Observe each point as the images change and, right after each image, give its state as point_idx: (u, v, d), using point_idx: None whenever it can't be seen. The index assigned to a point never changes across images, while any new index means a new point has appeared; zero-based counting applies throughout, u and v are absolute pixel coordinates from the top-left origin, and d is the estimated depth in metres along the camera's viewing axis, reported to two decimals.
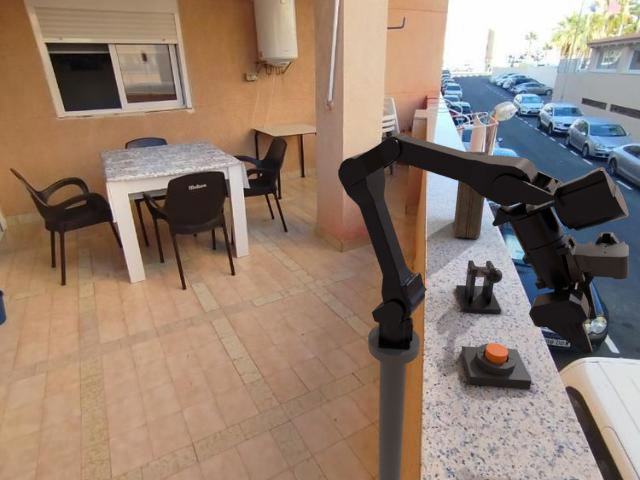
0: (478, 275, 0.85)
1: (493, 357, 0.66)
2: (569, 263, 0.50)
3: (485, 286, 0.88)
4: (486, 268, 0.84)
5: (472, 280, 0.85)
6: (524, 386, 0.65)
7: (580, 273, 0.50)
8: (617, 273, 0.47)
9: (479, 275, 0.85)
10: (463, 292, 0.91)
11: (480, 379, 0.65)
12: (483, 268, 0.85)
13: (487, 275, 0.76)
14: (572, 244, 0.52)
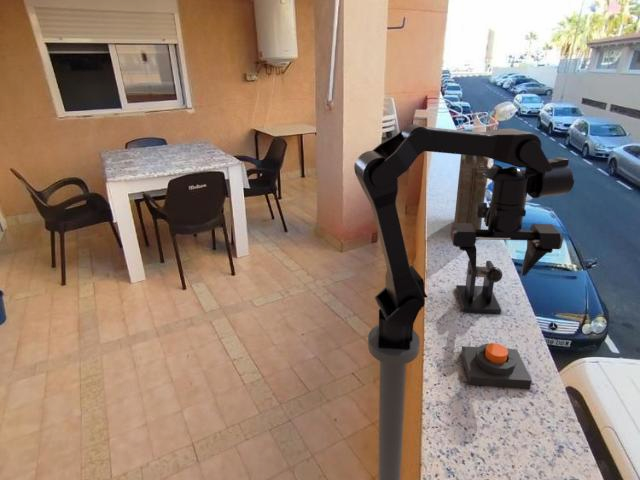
0: (478, 275, 0.85)
1: (493, 357, 0.66)
2: None
3: (485, 286, 0.88)
4: (486, 268, 0.84)
5: (472, 280, 0.85)
6: (524, 386, 0.65)
7: None
8: None
9: (479, 275, 0.85)
10: (463, 292, 0.91)
11: (480, 379, 0.65)
12: (483, 268, 0.85)
13: (487, 274, 0.76)
14: None
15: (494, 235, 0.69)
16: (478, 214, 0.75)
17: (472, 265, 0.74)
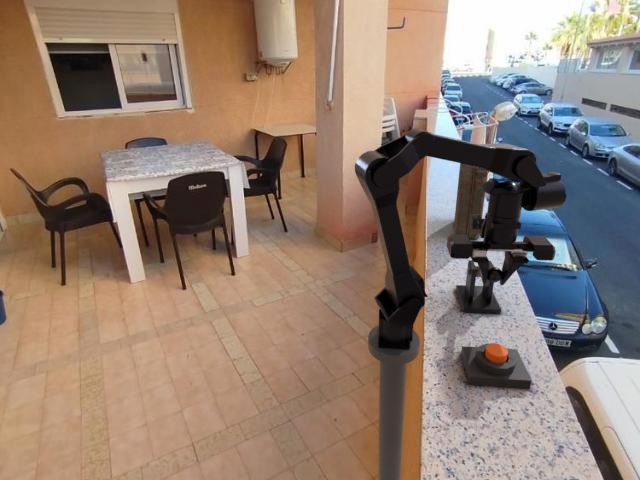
0: (478, 275, 0.85)
1: (493, 357, 0.66)
2: None
3: (485, 286, 0.88)
4: None
5: (472, 280, 0.85)
6: (524, 386, 0.65)
7: None
8: None
9: (479, 275, 0.85)
10: (463, 292, 0.91)
11: (480, 379, 0.65)
12: None
13: None
14: None
15: (490, 247, 0.71)
16: (473, 226, 0.77)
17: (483, 276, 0.75)
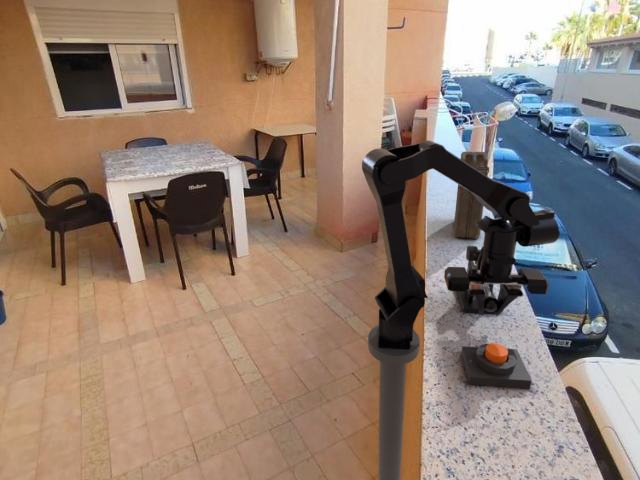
0: None
1: (493, 357, 0.66)
2: None
3: None
4: None
5: None
6: (524, 386, 0.65)
7: None
8: None
9: None
10: (463, 292, 0.91)
11: (480, 379, 0.65)
12: None
13: (484, 305, 0.78)
14: None
15: (486, 281, 0.73)
16: (469, 258, 0.80)
17: (480, 307, 0.78)
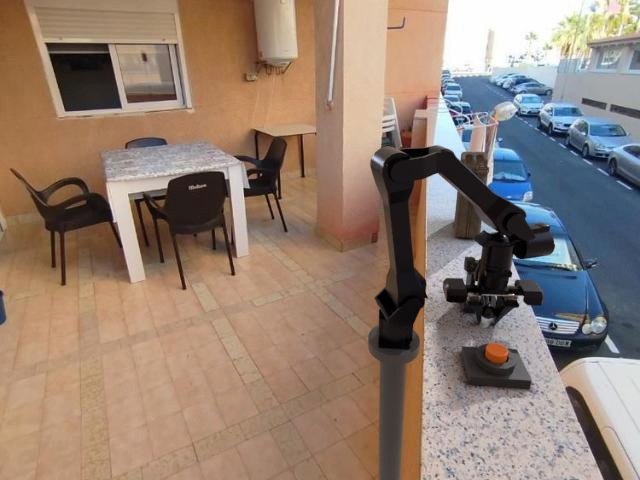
0: None
1: (493, 357, 0.66)
2: None
3: None
4: None
5: (472, 280, 0.85)
6: (524, 386, 0.65)
7: None
8: None
9: None
10: None
11: (480, 379, 0.65)
12: None
13: None
14: None
15: (483, 293, 0.75)
16: (467, 269, 0.81)
17: (478, 317, 0.79)
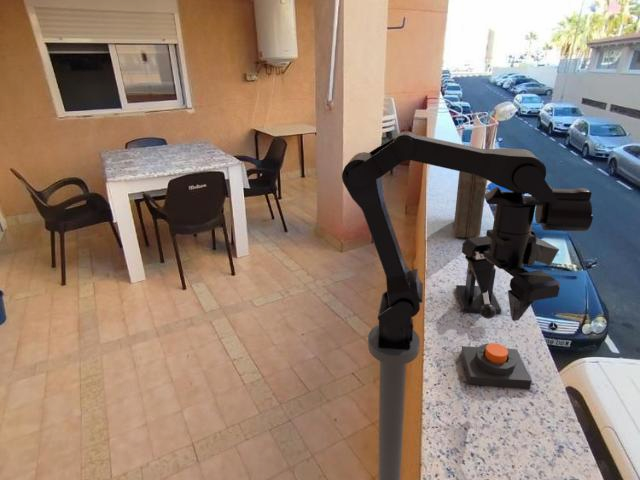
0: None
1: (493, 357, 0.66)
2: (533, 249, 0.62)
3: None
4: None
5: (472, 280, 0.85)
6: (524, 386, 0.65)
7: (534, 258, 0.62)
8: (550, 261, 0.64)
9: None
10: (463, 292, 0.91)
11: (480, 379, 0.65)
12: None
13: (481, 313, 0.80)
14: None
15: (484, 255, 0.66)
16: None
17: (476, 280, 0.72)
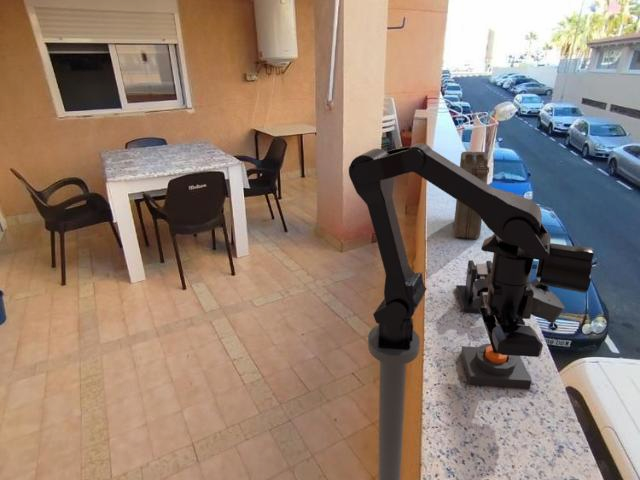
0: (477, 278, 0.86)
1: (493, 359, 0.66)
2: (528, 303, 0.59)
3: None
4: (486, 275, 0.84)
5: (472, 280, 0.85)
6: (524, 386, 0.65)
7: (530, 312, 0.60)
8: (552, 318, 0.60)
9: (478, 278, 0.86)
10: (463, 292, 0.91)
11: (480, 379, 0.65)
12: (483, 275, 0.84)
13: None
14: None
15: (483, 298, 0.66)
16: None
17: None
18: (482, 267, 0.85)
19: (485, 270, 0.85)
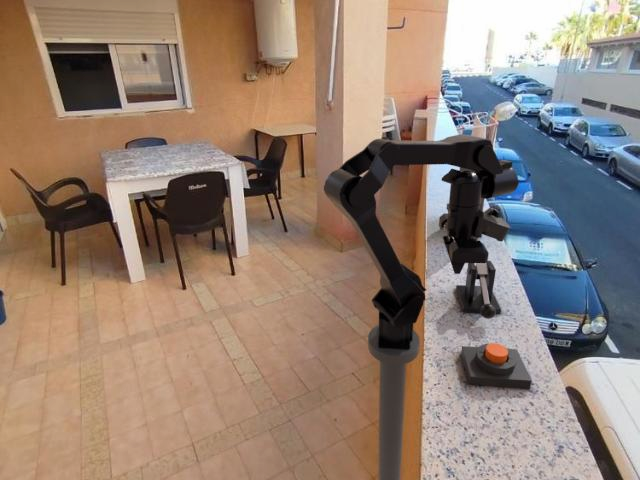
0: (477, 278, 0.86)
1: (493, 357, 0.66)
2: (479, 223, 0.70)
3: None
4: (486, 275, 0.84)
5: (472, 280, 0.85)
6: (524, 386, 0.65)
7: (481, 232, 0.71)
8: (500, 237, 0.71)
9: (478, 278, 0.86)
10: (463, 292, 0.91)
11: (480, 379, 0.65)
12: (483, 275, 0.84)
13: (481, 313, 0.80)
14: None
15: (445, 226, 0.77)
16: None
17: None
18: (482, 267, 0.85)
19: (485, 270, 0.85)
